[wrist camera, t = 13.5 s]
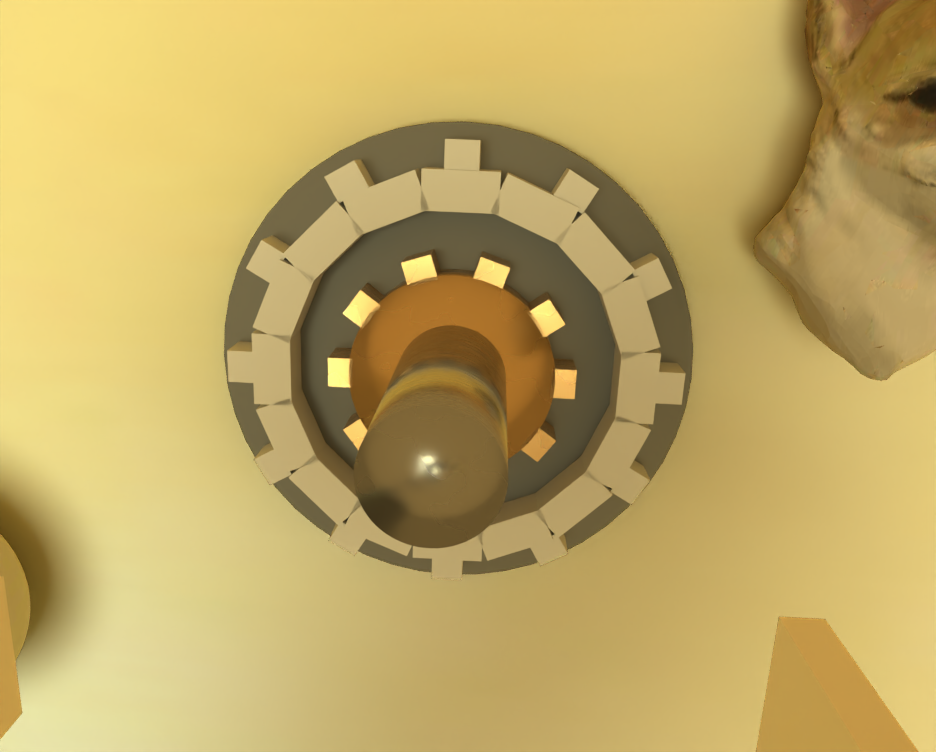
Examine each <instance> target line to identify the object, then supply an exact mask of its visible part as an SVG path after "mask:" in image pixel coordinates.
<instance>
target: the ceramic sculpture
mask: <svg viewBox="0 0 936 752" xmlns="http://www.w3.org/2000/svg"><path fill="white" fill-rule="evenodd" d="M806 16H807V22H806V28H805V35H806V43H807V50H808V58H809V62H810V65H811V68H812V71H813V74H814V77H815V80H816V82H817V84H818V87H819V89H820V93H821V96H822V102H823V105H822V107H821V110H820V112H819V114H818V117H817V121H816V124H815V128H814V130H813V131H812V133H811V139H810V149H809V152H808V154H807V157H806V164H805V168H804V171H803V173H802V174H801V176H800V178H799V180H798V183H797V185H796V186H795V188H794V189H793V191H792V193H791V194H790V196H789V198H788V200H787V202H786V204H785V205H784V207H783V208H782V210H781V211H780V212H779V213H777V214H776V215H775V216H774V217H773V218H772V220H771V221H770V222H769V223H768V224H767V225H766V226H765V227H764V228H763V229H762V230H761V231H760V233H759V234H758V235H757V236H756V237H755V242H754V255H755V257H756V259H757V261H758V262H759V263H760V264H761V265H763V266H764V267H765V268H766V269H767V270H768V271H769V272H770V273H772V274H773V275H774V276H775V277H776V278H777V279H778V280H779V281H780V282H781V283H782V285H783V286H784V287H785V288H786V290H787V291H788V292H789V293H790V294H791V296H792V298H793V300H794V303H795V306H796V308H797V311H798V313H799V316H800V318H801V320H802V322H803V324H804V325H805V326H806V328H807V329H808V330H809V331H810V332H811V333H813V334H814V335H815V336H816V337H817V338H818V339H819V340H820V341H822V342H823V343H824V344H825V345H826V346H827V347H829V348H830V349H831V350H832V351H834V352H835V353H836V354H838V355H840V356H841V357H843V358H844V359H845V360H846V361H848V362H849V363H850V364H851V365H852V366H854V367H855V368H856V369H857V370H858V371H859V372H860V373H861V374H862V375H864V376H866V377H868V378H870V379H875V380H880V381H882V380H887V379H888V378H889V377H890V376H891V375H892V374H893V373H895V372H896V371H898V370H900V369H902V368H904V367H906V366H908V365H910V364H912V363H914V362H916V361H918V360H920V359H922V358H924V357H926V356H928V355H929V354H930V353H932V352H933V351H935V350H936V0H808V4H807V10H806Z"/></svg>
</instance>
